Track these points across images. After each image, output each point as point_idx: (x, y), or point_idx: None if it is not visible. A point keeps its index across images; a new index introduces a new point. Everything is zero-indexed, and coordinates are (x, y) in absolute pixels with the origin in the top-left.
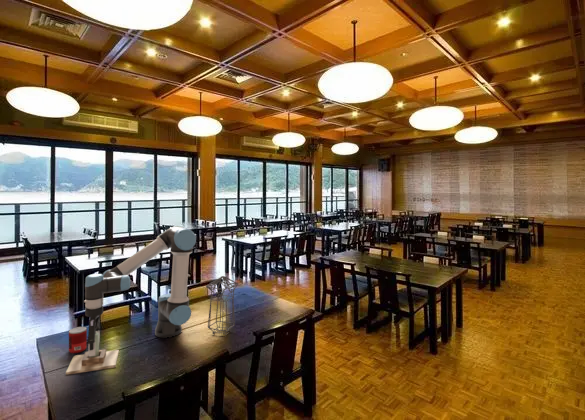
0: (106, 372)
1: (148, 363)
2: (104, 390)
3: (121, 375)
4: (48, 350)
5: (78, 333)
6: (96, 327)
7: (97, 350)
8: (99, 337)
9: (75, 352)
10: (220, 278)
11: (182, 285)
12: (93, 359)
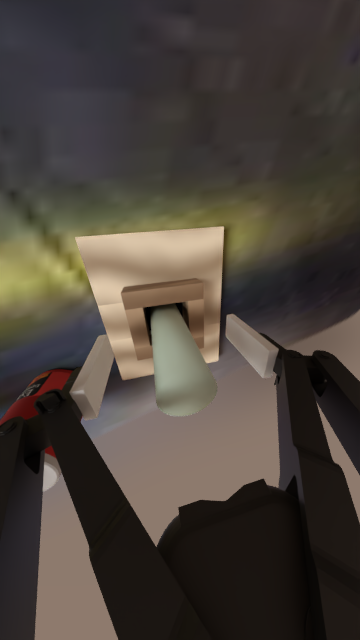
0: (244, 253)
1: (240, 20)
2: (339, 236)
3: (287, 190)
4: None
5: (53, 455)
6: (329, 460)
7: (180, 319)
8: (94, 354)
9: None
10: None
11: None
12: (202, 315)
